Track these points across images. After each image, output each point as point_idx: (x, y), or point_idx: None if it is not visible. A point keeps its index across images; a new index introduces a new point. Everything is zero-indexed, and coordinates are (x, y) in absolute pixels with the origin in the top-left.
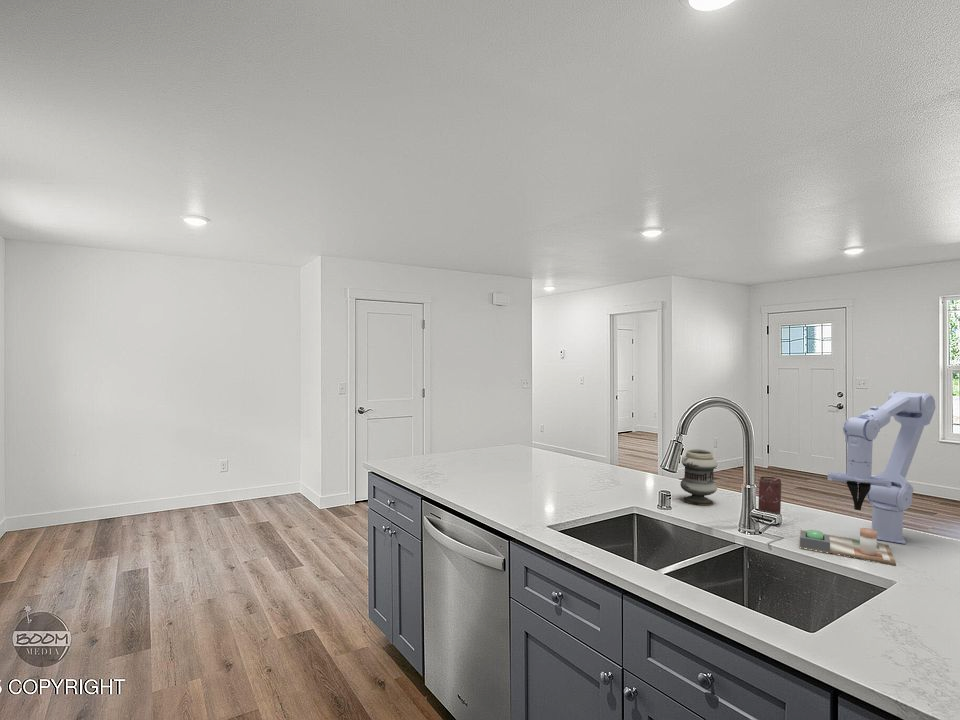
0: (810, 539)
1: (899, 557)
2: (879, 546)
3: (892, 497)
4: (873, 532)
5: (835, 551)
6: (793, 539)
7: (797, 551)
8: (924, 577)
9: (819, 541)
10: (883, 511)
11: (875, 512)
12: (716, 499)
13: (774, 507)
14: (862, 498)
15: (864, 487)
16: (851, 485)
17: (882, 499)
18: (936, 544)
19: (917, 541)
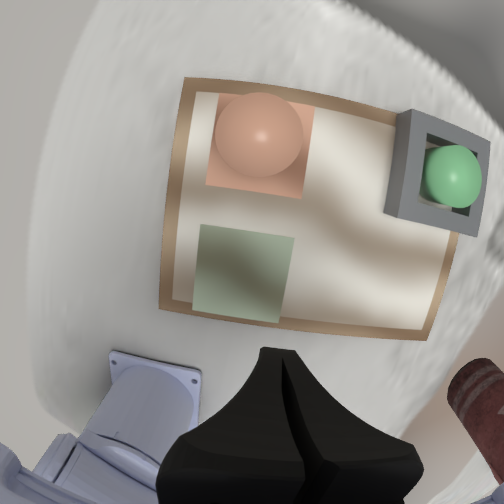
0: (466, 130)
1: (147, 191)
2: (193, 267)
3: (80, 477)
4: (242, 96)
5: (377, 122)
6: (467, 240)
7: (473, 111)
8: (136, 23)
9: (441, 121)
10: (137, 441)
11: (168, 450)
12: (482, 466)
13: (499, 391)
14: (255, 392)
15: (243, 465)
16: (385, 484)
17: (127, 487)
18: (53, 373)
19: (87, 386)
